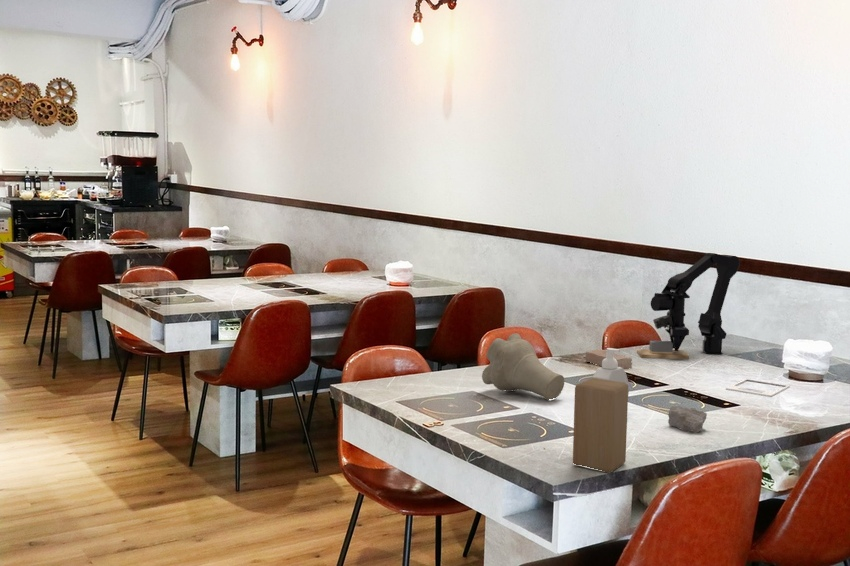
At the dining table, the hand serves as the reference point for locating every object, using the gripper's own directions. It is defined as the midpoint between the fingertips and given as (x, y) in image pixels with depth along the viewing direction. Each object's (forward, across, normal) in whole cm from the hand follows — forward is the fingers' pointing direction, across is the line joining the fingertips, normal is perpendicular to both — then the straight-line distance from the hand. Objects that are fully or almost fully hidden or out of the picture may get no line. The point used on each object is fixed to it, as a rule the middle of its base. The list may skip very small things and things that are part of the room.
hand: (674, 349), depth 345 cm
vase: (+3, +71, -60) cm, 93 cm away
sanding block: (+1, 0, -5) cm, 5 cm away
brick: (+3, +20, -28) cm, 35 cm away
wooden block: (+3, +137, -46) cm, 144 cm away
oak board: (+2, 0, -5) cm, 5 cm away
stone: (+3, +102, -18) cm, 104 cm away
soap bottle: (+3, +93, -38) cm, 100 cm away
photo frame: (+3, +52, +16) cm, 55 cm away
